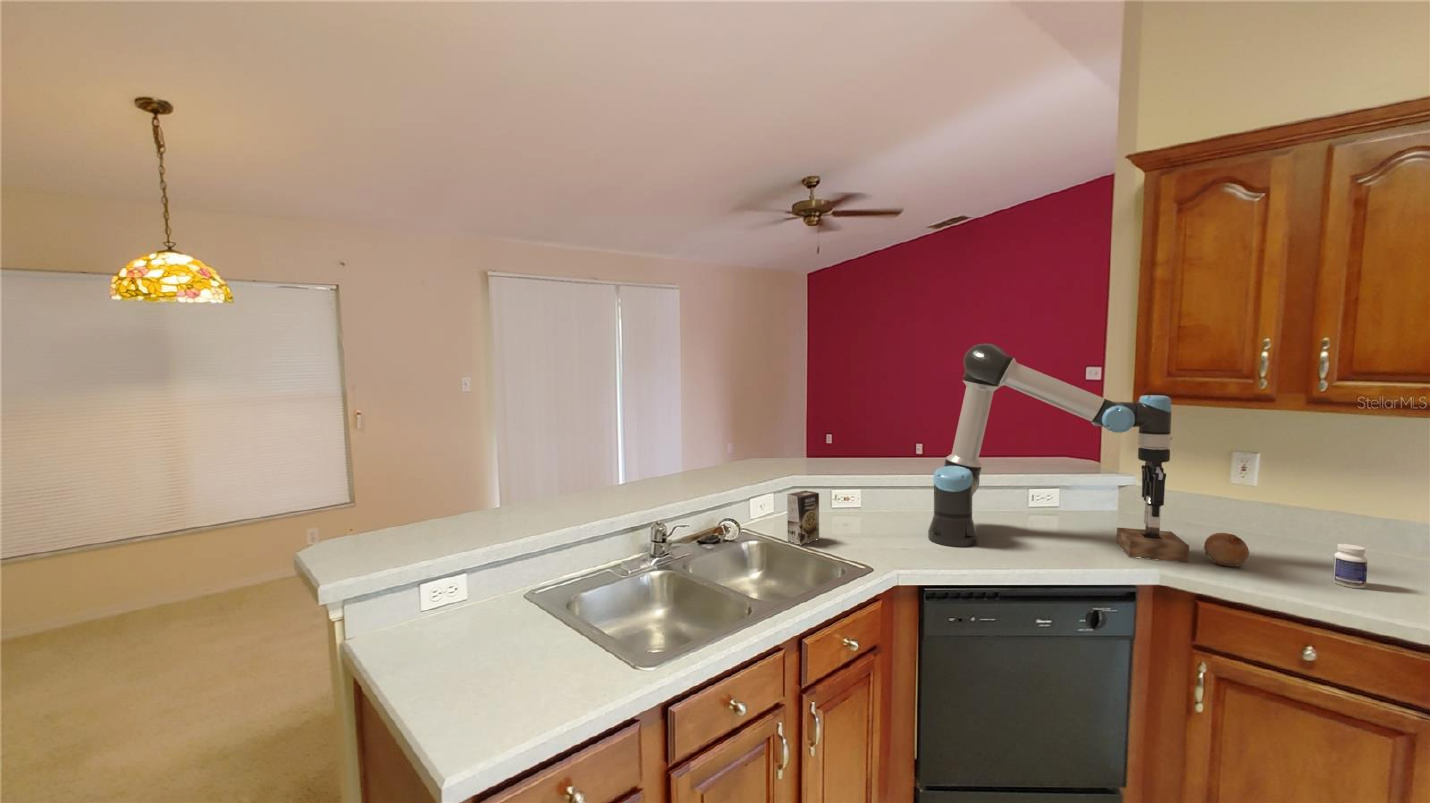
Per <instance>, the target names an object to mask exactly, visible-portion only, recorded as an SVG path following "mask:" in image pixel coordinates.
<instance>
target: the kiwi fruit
mask: <svg viewBox="0 0 1430 803" xmlns="http://www.w3.org/2000/svg"><path fill="white" fill-rule="evenodd" d="M1203 550H1204V551H1205V552H1204V554H1205V556H1207V557H1208V558H1209V559H1210V560H1211V561H1212V562H1214V563H1215V564H1217V565H1221V566H1223V567H1224V566H1225V567H1237V566H1238V567H1239V566H1241V565H1242V564H1244V563H1245V562H1246V561H1247V560H1248V558H1249V556H1250V550H1249V548H1248V545H1247V544H1246V542H1245V541H1244V540H1243V539H1242V538H1240V537H1239V536H1237V535H1235V534H1233V533H1228V532H1227V533H1226V532H1216V533H1213V534H1210V535H1209V536H1208V537H1207V538H1206V539H1205V540H1204V544H1203Z"/></svg>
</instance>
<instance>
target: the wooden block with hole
mask: <svg viewBox="0 0 1430 803" xmlns="http://www.w3.org/2000/svg"><path fill="white" fill-rule="evenodd" d="M1116 544H1117V545H1118V546H1119V547H1120V548H1122V549H1123V550H1124V551H1123V550H1122V551H1123V552H1124V553H1125V554H1126V556H1128V558H1130V557H1141V558H1150V559H1149V560H1151V559H1158V560H1157V561H1162V560H1166V561H1165V562H1173V561H1178V562H1177V563H1184V562H1187V564H1188V563H1189V561H1190V560H1189V559H1190V544H1188V543H1187V542H1186V541H1184V540H1183V539H1182V538H1180V537H1179V536H1177V534H1176V533H1174V532H1173V531H1170V530H1167V531H1166V530H1160V538H1159V539H1156V538H1145V529H1143V528H1142V529H1141V528H1131V527H1129V528H1127V527H1116Z"/></svg>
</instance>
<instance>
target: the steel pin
mask: <svg viewBox="0 0 1430 803" xmlns="http://www.w3.org/2000/svg"><path fill="white" fill-rule="evenodd" d="M1145 502H1146V522H1145V523H1144V524H1145V529H1144V530H1145V538H1156V539H1159V538H1160V531H1161V530H1160V529H1161V527H1160V528H1156V527H1148V511H1149V506H1148V505H1147V503H1150V495H1147V496H1146V501H1145Z"/></svg>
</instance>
